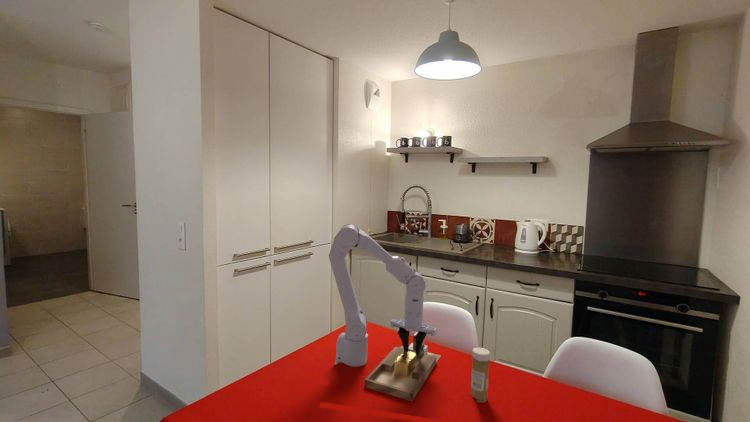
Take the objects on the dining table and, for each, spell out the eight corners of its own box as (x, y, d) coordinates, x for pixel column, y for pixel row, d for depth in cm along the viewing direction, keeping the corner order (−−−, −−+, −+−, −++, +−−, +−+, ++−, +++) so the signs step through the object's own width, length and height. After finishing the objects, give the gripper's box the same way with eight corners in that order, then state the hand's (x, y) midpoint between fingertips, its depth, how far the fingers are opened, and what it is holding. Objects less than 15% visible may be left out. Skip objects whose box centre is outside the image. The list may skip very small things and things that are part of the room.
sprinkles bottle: (490, 400, 96) (493, 352, 95) (479, 405, 93) (482, 356, 92) (477, 391, 100) (480, 345, 99) (466, 396, 97) (468, 349, 96)
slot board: (364, 389, 99) (364, 379, 98) (401, 348, 124) (401, 340, 124) (412, 404, 93) (412, 393, 92) (440, 358, 118) (441, 349, 118)
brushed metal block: (407, 356, 117) (408, 336, 116) (411, 349, 121) (412, 331, 121) (423, 359, 115) (424, 340, 114) (427, 353, 119) (428, 334, 119)
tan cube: (399, 368, 109) (400, 355, 108) (404, 362, 112) (404, 350, 112) (412, 371, 107) (412, 358, 107) (416, 365, 111) (416, 353, 110)
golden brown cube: (394, 375, 105) (394, 361, 105) (398, 368, 109) (398, 355, 108) (407, 378, 104) (407, 364, 103) (410, 371, 107) (411, 358, 107)
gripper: (387, 310, 111) (385, 352, 112) (432, 319, 105) (430, 364, 106) (395, 303, 117) (394, 343, 118) (438, 312, 111) (436, 354, 112)
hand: (411, 352), depth 112 cm, fingers closed on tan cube, 3 cm apart
